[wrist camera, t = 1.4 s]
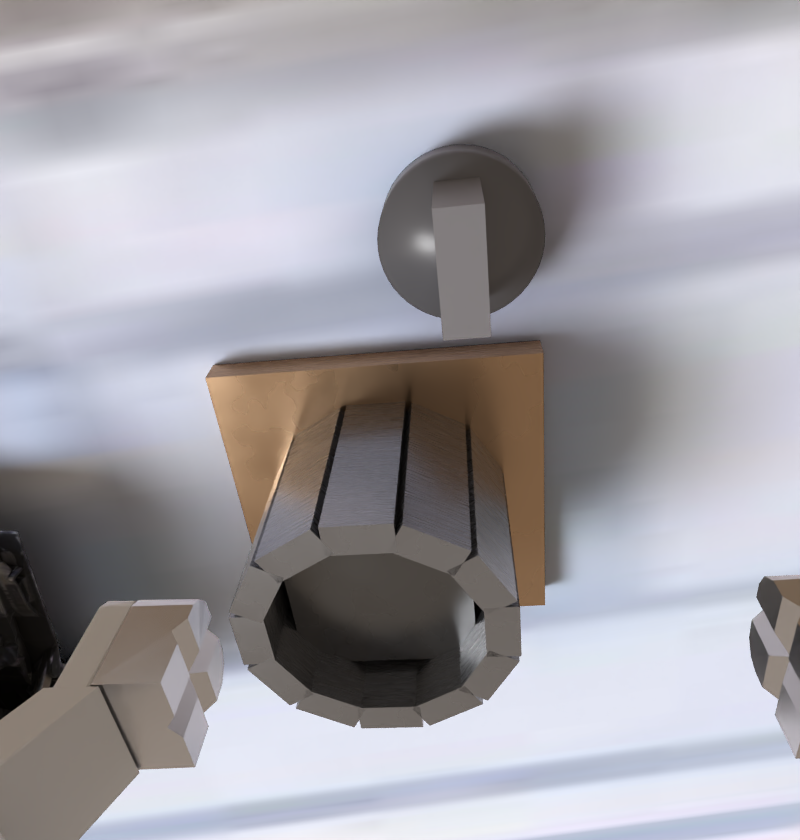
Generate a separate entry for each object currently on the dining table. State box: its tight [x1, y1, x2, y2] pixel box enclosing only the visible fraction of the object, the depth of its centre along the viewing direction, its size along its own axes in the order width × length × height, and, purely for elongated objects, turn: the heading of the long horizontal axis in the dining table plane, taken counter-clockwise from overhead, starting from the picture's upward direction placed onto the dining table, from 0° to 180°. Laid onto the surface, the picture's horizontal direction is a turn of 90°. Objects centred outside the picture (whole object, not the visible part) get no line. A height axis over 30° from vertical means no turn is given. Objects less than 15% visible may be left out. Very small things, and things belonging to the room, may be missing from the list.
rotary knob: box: [377, 144, 545, 341], centre depth 25 cm, size 6×6×6 cm
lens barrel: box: [206, 340, 545, 728], centre depth 30 cm, size 14×14×9 cm
